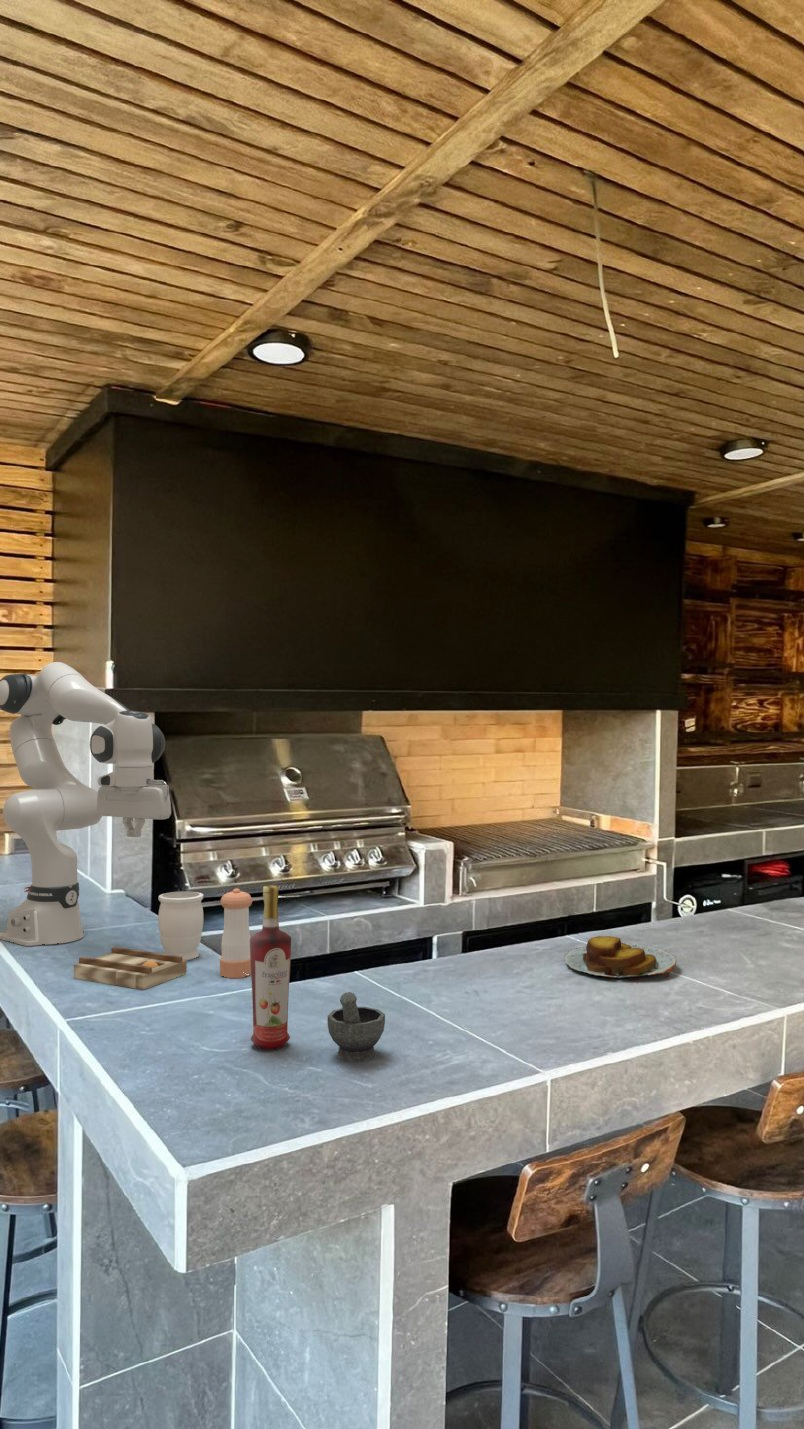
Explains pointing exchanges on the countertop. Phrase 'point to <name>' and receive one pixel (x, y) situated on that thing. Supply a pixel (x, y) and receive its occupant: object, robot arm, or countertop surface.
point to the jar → (181, 923)
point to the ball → (150, 964)
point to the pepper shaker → (236, 935)
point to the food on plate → (619, 958)
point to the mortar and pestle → (355, 1029)
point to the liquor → (270, 977)
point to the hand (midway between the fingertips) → (133, 836)
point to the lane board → (130, 968)
